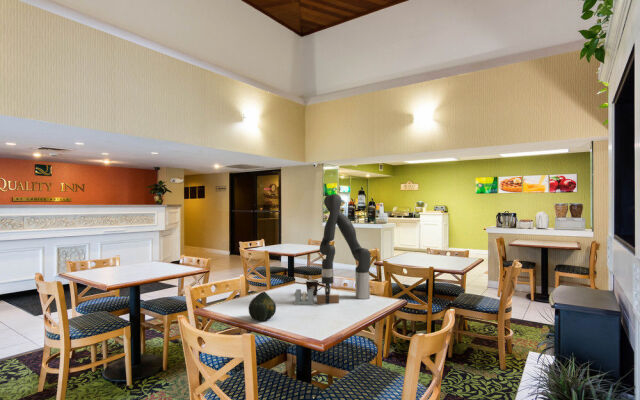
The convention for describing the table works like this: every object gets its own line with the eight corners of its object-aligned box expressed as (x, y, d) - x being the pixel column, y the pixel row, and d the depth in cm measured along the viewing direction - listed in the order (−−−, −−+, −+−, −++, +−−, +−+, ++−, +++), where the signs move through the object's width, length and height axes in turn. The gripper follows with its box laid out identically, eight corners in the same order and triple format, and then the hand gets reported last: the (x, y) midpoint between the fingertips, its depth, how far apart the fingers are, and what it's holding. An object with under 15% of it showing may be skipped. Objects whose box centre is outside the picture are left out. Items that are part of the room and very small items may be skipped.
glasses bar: (338, 302, 229) (338, 294, 230) (338, 303, 226) (338, 295, 226) (316, 302, 229) (316, 295, 229) (316, 304, 225) (316, 296, 226)
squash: (251, 315, 184) (268, 290, 190) (239, 310, 196) (255, 286, 202) (270, 329, 189) (285, 305, 196) (257, 323, 201) (272, 300, 208)
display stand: (314, 300, 233) (314, 288, 233) (313, 304, 223) (313, 292, 223) (295, 300, 233) (295, 288, 234) (294, 304, 223) (294, 292, 224)
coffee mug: (304, 296, 245) (304, 281, 246) (308, 293, 254) (308, 279, 254) (320, 297, 242) (320, 282, 242) (324, 294, 250) (323, 280, 251)
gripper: (333, 277, 221) (333, 305, 220) (333, 273, 235) (333, 299, 234) (321, 277, 221) (321, 305, 220) (322, 273, 235) (322, 299, 235)
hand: (327, 302), depth 227 cm, fingers open, 5 cm apart
